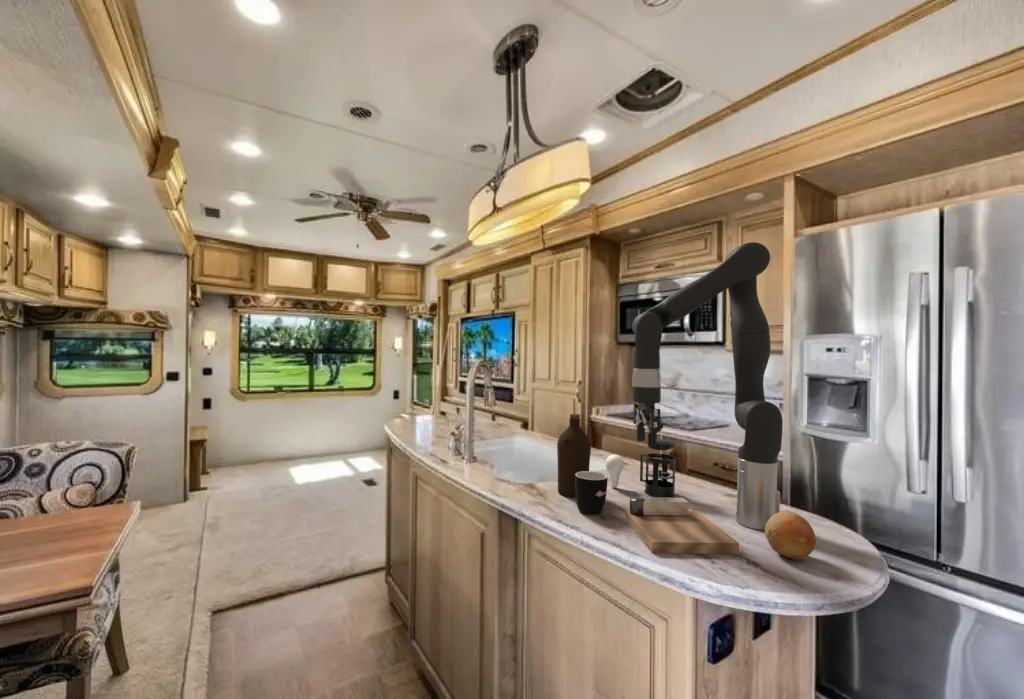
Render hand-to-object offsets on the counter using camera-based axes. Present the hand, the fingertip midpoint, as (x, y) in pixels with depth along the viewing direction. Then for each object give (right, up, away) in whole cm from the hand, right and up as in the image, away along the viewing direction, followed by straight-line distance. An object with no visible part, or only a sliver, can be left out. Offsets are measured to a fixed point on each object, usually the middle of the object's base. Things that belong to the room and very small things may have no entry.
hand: (646, 443), depth 122 cm
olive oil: (-18, -20, +18) cm, 32 cm away
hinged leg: (+2, -17, -5) cm, 18 cm away
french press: (+10, -21, +21) cm, 31 cm away
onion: (+25, -21, -23) cm, 40 cm away
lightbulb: (-3, -20, +25) cm, 32 cm away
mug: (-14, -20, +4) cm, 25 cm away
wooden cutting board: (+4, -20, -13) cm, 24 cm away
